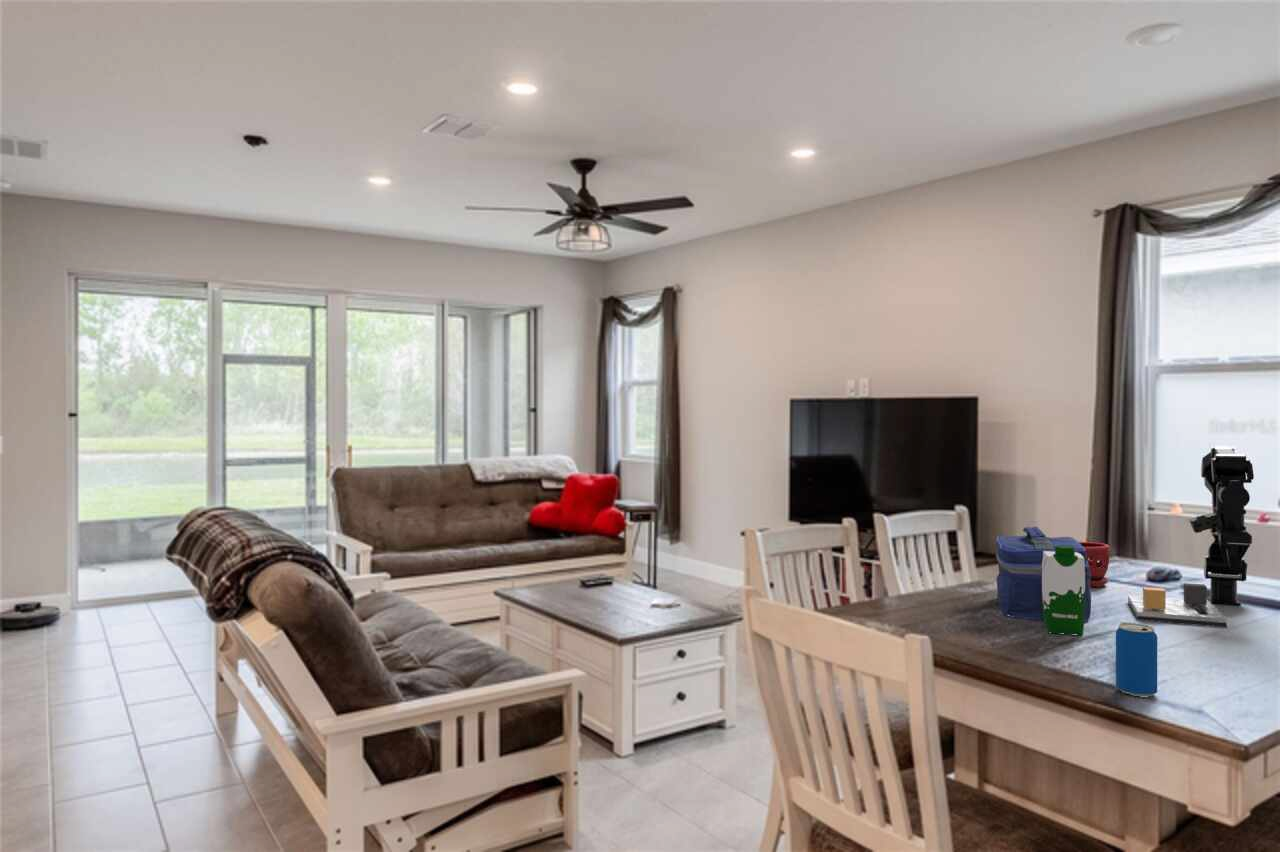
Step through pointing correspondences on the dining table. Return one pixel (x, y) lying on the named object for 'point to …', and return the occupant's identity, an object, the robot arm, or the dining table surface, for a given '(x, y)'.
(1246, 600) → the dining table surface
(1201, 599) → the black fader
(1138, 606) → the panel
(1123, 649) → the beverage can
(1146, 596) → the orange fader
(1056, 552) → the milk carton
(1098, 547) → the plant pot
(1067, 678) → the dining table surface
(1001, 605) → the lunch bag
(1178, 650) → the dining table surface
